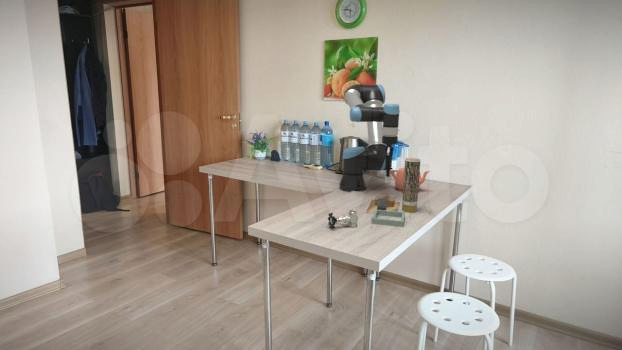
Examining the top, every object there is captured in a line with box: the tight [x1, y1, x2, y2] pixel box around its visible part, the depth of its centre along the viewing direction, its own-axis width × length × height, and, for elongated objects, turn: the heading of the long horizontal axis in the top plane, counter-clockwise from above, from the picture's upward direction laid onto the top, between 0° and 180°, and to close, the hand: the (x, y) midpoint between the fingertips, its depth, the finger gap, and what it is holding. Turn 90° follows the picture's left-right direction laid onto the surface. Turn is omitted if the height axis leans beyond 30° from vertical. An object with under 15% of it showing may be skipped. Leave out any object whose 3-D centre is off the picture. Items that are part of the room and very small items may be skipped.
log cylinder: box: [401, 157, 421, 214], centre depth 184 cm, size 7×7×25 cm
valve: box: [327, 209, 359, 229], centre depth 166 cm, size 7×7×12 cm
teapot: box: [391, 167, 431, 192], centre depth 224 cm, size 17×16×13 cm
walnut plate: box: [374, 195, 396, 207], centre depth 195 cm, size 9×7×3 cm
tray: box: [370, 209, 406, 228], centre depth 173 cm, size 13×13×3 cm
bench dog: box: [377, 198, 387, 210], centre depth 183 cm, size 4×3×6 cm
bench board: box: [365, 199, 401, 215], centre depth 191 cm, size 14×22×1 cm, turn 164°
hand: (387, 182), depth 202 cm, fingers closed
